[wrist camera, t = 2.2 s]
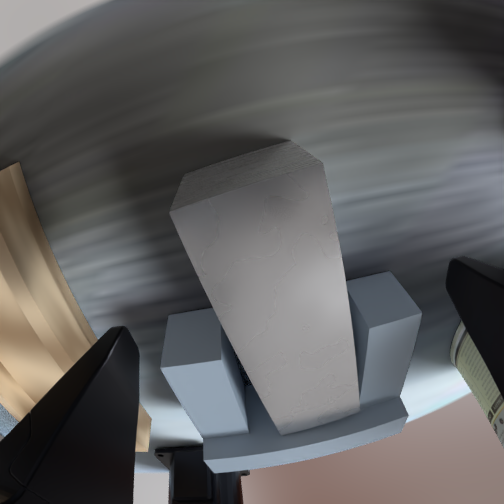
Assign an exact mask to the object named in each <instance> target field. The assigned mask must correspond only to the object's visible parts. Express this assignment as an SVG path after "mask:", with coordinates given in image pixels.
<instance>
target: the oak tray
mask: <svg viewBox="0 0 504 504" xmlns="http://www.w3.org/2000/svg"><path fill="white" fill-rule="evenodd" d="M97 341H98V339H97V338H96V336H95V334H94V333H93V331H92V329H91V327H90V326H89V324H88V322H87V320H86V319H85V317H84V315H83V313H82V311H81V309H80V308H79V306H78V304H77V302H76V300H75V298H74V296H73V294H72V292H71V290H70V288H69V286H68V284H67V282H66V280H65V278H64V276H63V274H62V272H61V270H60V268H59V266H58V263H57V261H56V259H55V257H54V255H53V252H52V250H51V248H50V246H49V243H48V241H47V238H46V236H45V234H44V231H43V229H42V226H41V224H40V221H39V219H38V216H37V213H36V211H35V208H34V205H33V202H32V200H31V197H30V194H29V191H28V188H27V185H26V182H25V179H24V176H23V172H22V169H21V166H20V162H17V163H15V164H13V165H11V166H9V167H7V168H5V169H3V170H1V171H0V403H1V404H2V405H3V406H4V407H5V409H6V410H7V411H8V412H9V413H10V414H11V415H12V416H13V417H14V418H15V419H16V420H17V421H18V422H20V421H21V420H22V419H23V418H24V417H25V415H26V414H27V413H28V412H30V410H31V409H32V408H33V407H34V406H35V405H36V404H37V403H38V401H39V400H40V399H41V398H42V397H43V396H44V395H45V394H46V393H47V392H48V391H49V390H50V389H51V388H52V387H53V386H54V385H55V384H56V382H57V381H58V380H59V379H60V378H61V377H62V376H63V375H64V374H65V373H66V372H67V371H68V370H69V369H70V368H71V367H72V366H73V365H74V364H75V363H76V362H77V361H78V360H79V359H80V358H81V357H82V356H83V355H84V354H85V353H86V352H87V351H88V350H89V349H90V348H91V347H92V346H93V345H94V344H95V343H96V342H97ZM151 420H152V419H151V417H150V416H149V415H148V413H147V412H146V411H145V409H144V408H143V407H142V405H141V404H140V403H139V413H138V424H137V436H136V450H135V452H148V447H149V438H150V429H151Z"/></svg>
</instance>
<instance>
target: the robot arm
mask: <svg viewBox="0 0 504 504" xmlns="http://www.w3.org/2000/svg"><path fill="white" fill-rule="evenodd" d="M446 289H447V292H448V294H449V296H450V298H451V300H452V302H453V304H454V306H455V308H456V310H457V312H458V314H459V316H460V318H461V320H462V322H463V324H464V326H465V328H466V330H467V332H468V334H469V336H470V337H471V339H472V341H473V343H474V344H475V346H476V348H477V350H478V352H479V353H480V355H481V357H482V359H483V361H484V363H485V364H486V366H487V368H488V370H489V372H490V374H491V376H492V378H493V380H494V382H495V384H496V386H497V388H498V390H499V392H500V394H501V396H502V398H503V400H504V270H502V269H499V268H497V267H494V266H491V265H488V264H485V263H483V262H480V261H477V260H474V259H471V258H468V257H465V256H459V257H455V258H452V259H451V260H450V262H449V267H448V273H447V278H446ZM139 357H140V356H139V350H138V347H137V345H136V343H135V341H134V339H133V338H132V336H131V334H130V332H129V330H128V328H127V327H125V326H116V327H111V328H110V329H109V330H108V331H107V332H106V333H105V334H104V335H103V336H102V337H101V338H100V339H99V340H98V341H97V342H96V343H95V344H94V345H93V346H92V347H91V348H90V349H89V350H88V351H87V352H86V353H85V354H84V355H83V356H82V357H81V358H80V359H79V360H78V361H77V362H76V363H75V364H74V365H73V366H72V367H71V368H70V369H69V370H68V371H67V372H66V373H65V374H64V375H63V376H62V377H61V378H60V379H59V380H58V381H57V382H56V384H55V385H54V386H53V387H52V388H51V389H50V390H49V391H48V392H47V393H46V394H45V395H44V396H43V397H42V398H41V399H40V400H39V401H38V403H37V404H36V405H35V406H34V407H33V408H32V409H31V410H30V412H28V413H27V414H26V415H25V417H24V418H23V419H22V420H21V421H20V422H19V423H18V424H17V425H16V426H15V427H14V428H13V429H12V430H11V431H10V433H9V434H8V435H6V436H5V437H4V438H3V439H2V440H1V441H0V504H133V488H134V466H135V450H136V436H137V424H138V413H139ZM154 455H155V456H156V457H157V458H158V459H159V460H160V461H161V462H162V463H163V464H164V465H165V466H166V467H167V468H168V469H169V470H170V471H169V501H168V502H169V504H243V495H242V485H241V476H247V475H249V474H250V470H242V471H233V472H223V473H214V472H213V471H212V470H211V469H210V468H209V466H208V465H207V464H206V463H205V461H204V455H203V447H189V448H167V449H155V452H154Z"/></svg>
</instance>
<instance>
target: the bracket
mask: <svg viewBox="0 0 504 504" xmlns="http://www.w3.org/2000/svg"><path fill="white" fill-rule="evenodd" d="M346 286H347V293H348V300H349V307H350V314H351V322H352V330H353V338H354V347H355V356H356V366H357V376H358V388H359V401H360V412H358V413H356V414H353V415H350V416H347V417H344V418H341V419H338V420H335V421H332V422H329V423H326V424H322V425H319V426H316V427H312V428H309V429H305V430H302V431H298V432H294V433H291V434H287V435H283V436H281V434H280V433H279V431H278V429H277V427H276V426H275V424H274V422H273V420H272V419H271V417H270V415H269V413H268V411H267V410H266V408H265V406H264V404H263V402H262V401H261V399H260V397H259V395H258V393H257V392H256V390H255V388H254V386H253V385H249V386H244V383H243V380H242V377H241V374H240V371H239V367H238V364H237V361H236V358H235V355H234V351H233V348H232V345H231V342H230V340H229V338H228V337H227V335H226V333H225V331H224V329H223V327H222V325H221V323H220V321H219V319H218V317H217V315H216V313H215V311H214V309H213V308H208V309H202V310H196V311H191V312H184V313H178V314H172V315H169V316H168V322H167V328H166V334H165V340H164V346H163V352H162V358H161V365H160V369H161V370H162V372H163V374H164V376H165V378H166V379H167V381H168V383H169V385H170V386H171V388H172V390H173V391H174V393H175V395H176V397H177V398H178V400H179V402H180V403H181V405H182V406H183V408H184V410H185V411H186V413H187V415H188V416H189V418H190V419H191V421H192V422H193V424H194V426H195V427H196V429H197V430H198V432H199V433H200V435H201V436H202V438H203V455H204V461H205V463H206V464H207V465H208V466H209V468H210V469H211V470H212V471H213V472H214V473H223V472H233V471H242V470H251V469H258V468H264V467H271V466H277V465H283V464H288V463H294V462H299V461H303V460H308V459H313V458H317V457H321V456H325V455H329V454H333V453H337V452H341V451H345V450H348V449H351V448H355V447H358V446H362V445H365V444H368V443H371V442H375V441H378V440H381V439H383V438H386V437H389V436H392V435H395V434H397V433H400V432H401V431H402V429H403V427H404V425H405V422H406V420H407V418H408V413H407V411H406V408H405V406H404V404H403V402H402V400H401V398H400V394H401V391H402V388H403V385H404V382H405V378H406V375H407V372H408V368H409V365H410V361H411V358H412V354H413V350H414V346H415V343H416V339H417V334H418V330H419V326H420V322H421V317H422V312H421V310H420V309H419V308H418V306H417V305H416V304H415V302H414V301H413V300H412V298H411V297H410V296H409V294H408V293H407V292H406V291H405V289H404V288H403V287H402V286H401V284H400V283H399V282H398V280H397V279H396V278H395V277H394V276H393V274H392V273H391V272H390V271H387V272H383V273H379V274H375V275H370V276H366V277H362V278H357V279H353V280H349V281H346Z"/></svg>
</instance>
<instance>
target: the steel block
mask: <svg viewBox="0 0 504 504" xmlns="http://www.w3.org/2000/svg"><path fill="white" fill-rule="evenodd" d="M169 214H170V216H171V218H172V221H173V223H174V225H175V227H176V230H177V232H178V234H179V236H180V239H181V241H182V243H183V245H184V247H185V250H186V252H187V254H188V256H189V258H190V260H191V263H192V265H193V267H194V269H195V271H196V273H197V275H198V277H199V280H200V282H201V284H202V286H203V288H204V290H205V292H206V294H207V296H208V298H209V300H210V302H211V304H212V307H213V309H214V311H215V313H216V315H217V317H218V319H219V321H220V323H221V325H222V327H223V329H224V331H225V333H226V335H227V337H228V338H229V340H230V342H231V344H232V346H233V348H234V350H235V352H236V354H237V356H238V358H239V360H240V362H241V364H242V365H243V367H244V369H245V371H246V373H247V375H248V377H249V379H250V380H251V382H252V384H253V386H254V388H255V390H256V392H257V393H258V395H259V397H260V399H261V401H262V402H263V404H264V406H265V408H266V410H267V411H268V413H269V415H270V417H271V419H272V420H273V422H274V424H275V426H276V427H277V429H278V431H279V433H280V434H281V436H283V435H287V434H291V433H294V432H298V431H302V430H305V429H309V428H312V427H316V426H319V425H322V424H326V423H329V422H332V421H335V420H338V419H341V418H344V417H347V416H350V415H353V414H356V413H358V412H360V401H359V388H358V376H357V366H356V356H355V347H354V338H353V330H352V322H351V314H350V307H349V300H348V293H347V286H346V280H345V273H344V267H343V261H342V255H341V250H340V244H339V239H338V233H337V228H336V223H335V218H334V213H333V208H332V203H331V198H330V194H329V189H328V184H327V180H326V175H325V171H324V167H323V163H322V162H321V161H319V160H318V159H317V158H315V157H314V156H313V155H311V154H310V153H308V152H307V151H306V150H304V149H303V148H301V147H300V146H298V145H297V144H296V143H294V142H293V141H291V140H289V141H286V142H282V143H279V144H275V145H272V146H269V147H265V148H262V149H259V150H255V151H252V152H249V153H246V154H243V155H240V156H236V157H233V158H230V159H227V160H224V161H221V162H218V163H215V164H212V165H210V166H207V167H204V168H201V169H198V170H195V171H193V172H190V173H187V174H184V176H183V178H182V181H181V183H180V186H179V188H178V191H177V193H176V196H175V198H174V201H173V203H172V206H171V208H170V211H169Z"/></svg>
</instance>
